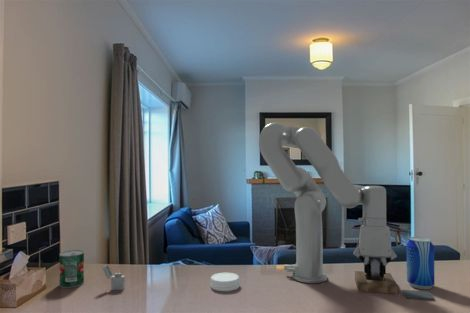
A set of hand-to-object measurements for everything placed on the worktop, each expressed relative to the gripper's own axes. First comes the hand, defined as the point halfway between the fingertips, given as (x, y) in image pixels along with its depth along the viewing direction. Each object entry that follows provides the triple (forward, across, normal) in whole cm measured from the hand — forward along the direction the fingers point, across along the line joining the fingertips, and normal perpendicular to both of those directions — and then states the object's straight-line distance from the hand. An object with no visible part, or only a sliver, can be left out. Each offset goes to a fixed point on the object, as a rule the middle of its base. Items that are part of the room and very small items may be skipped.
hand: (374, 275), depth 122 cm
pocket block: (+4, 0, 0) cm, 4 cm away
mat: (+4, +12, -6) cm, 14 cm away
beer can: (+4, +15, +4) cm, 16 cm away
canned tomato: (+4, -103, -21) cm, 105 cm away
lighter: (+4, -86, -22) cm, 89 cm away
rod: (+4, 0, 0) cm, 4 cm away
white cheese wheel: (+4, -50, -11) cm, 51 cm away
